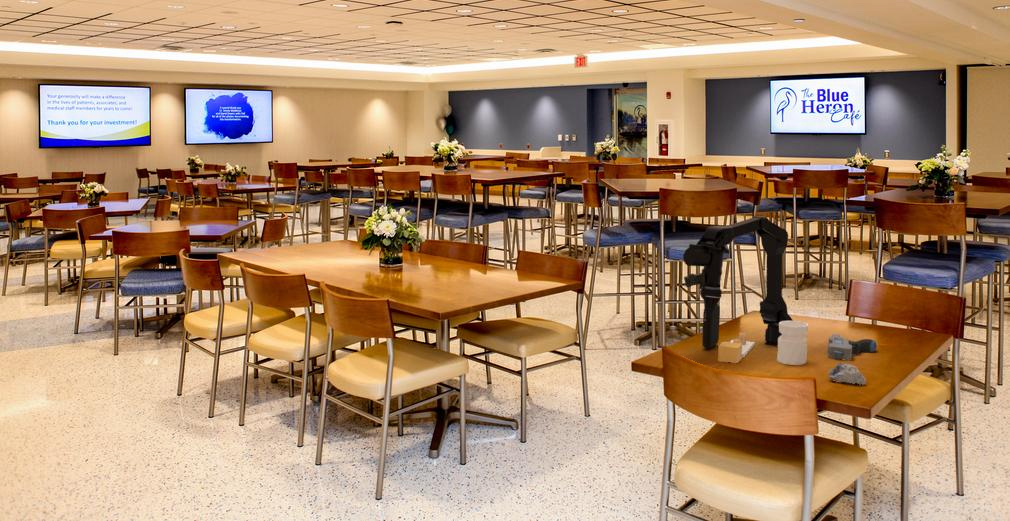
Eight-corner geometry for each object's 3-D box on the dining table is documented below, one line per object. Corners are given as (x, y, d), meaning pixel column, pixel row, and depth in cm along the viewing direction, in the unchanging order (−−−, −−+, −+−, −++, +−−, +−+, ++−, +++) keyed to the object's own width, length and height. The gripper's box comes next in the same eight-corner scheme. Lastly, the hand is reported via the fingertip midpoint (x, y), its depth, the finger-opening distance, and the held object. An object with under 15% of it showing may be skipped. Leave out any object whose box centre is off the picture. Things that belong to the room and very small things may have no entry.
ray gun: (876, 337, 282) (828, 333, 287) (879, 351, 264) (828, 347, 269) (875, 349, 282) (827, 345, 287) (878, 365, 265) (827, 360, 270)
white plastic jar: (786, 365, 263) (787, 327, 261) (771, 358, 271) (773, 321, 269) (811, 364, 264) (814, 326, 262) (797, 356, 273) (799, 320, 271)
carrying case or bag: (708, 352, 278) (709, 307, 276) (699, 350, 280) (700, 306, 278) (719, 345, 287) (721, 302, 285) (711, 343, 289) (712, 301, 286)
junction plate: (754, 345, 287) (755, 332, 286) (743, 357, 272) (744, 343, 271) (732, 342, 290) (732, 329, 290) (720, 354, 275) (720, 341, 275)
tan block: (741, 358, 270) (742, 343, 270) (737, 363, 265) (738, 348, 264) (722, 356, 273) (723, 341, 272) (718, 361, 268) (718, 345, 267)
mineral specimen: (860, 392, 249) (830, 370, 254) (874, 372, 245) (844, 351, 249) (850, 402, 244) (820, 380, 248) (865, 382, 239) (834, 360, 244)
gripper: (686, 261, 281) (681, 308, 282) (687, 266, 262) (681, 316, 264) (721, 265, 278) (715, 312, 280) (724, 270, 260) (718, 321, 262)
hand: (706, 315), depth 272 cm, fingers open, 9 cm apart
